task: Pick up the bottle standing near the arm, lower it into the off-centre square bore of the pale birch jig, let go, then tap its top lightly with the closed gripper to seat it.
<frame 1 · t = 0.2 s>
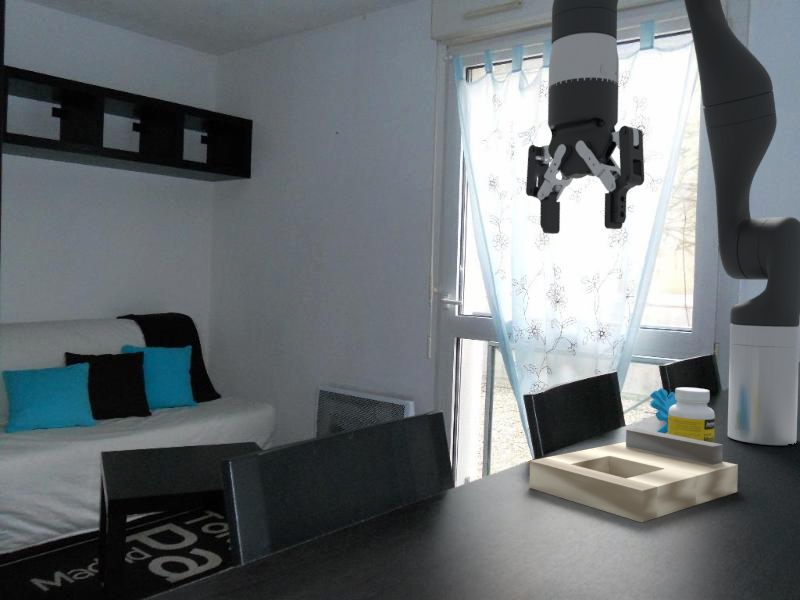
hand: (580, 231, 78), 28 cm above the table, fingers open, 8 cm apart
supplement bottle: (689, 468, 88), on the table
blue lobed piece: (680, 444, 103), on the table
jig: (633, 489, 77), on the table
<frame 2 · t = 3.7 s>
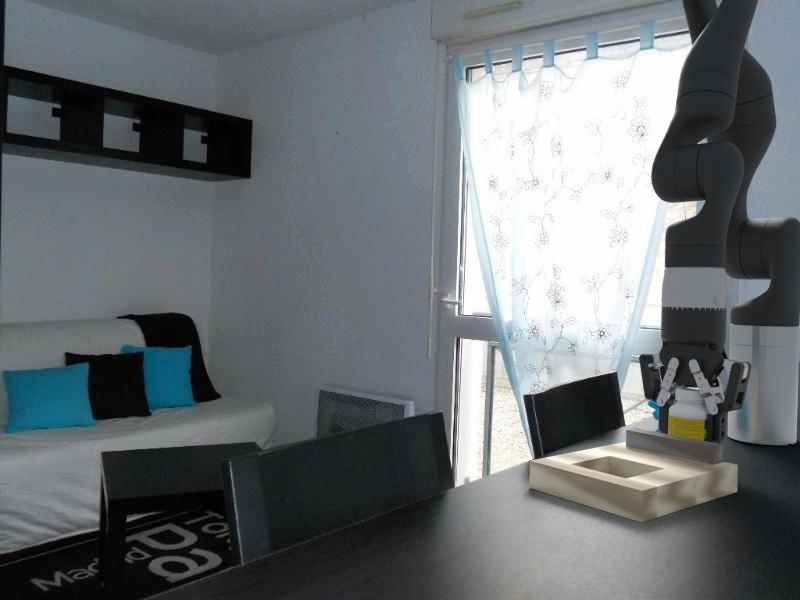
hand: (690, 439, 88), 3 cm above the table, fingers closed on supplement bottle, 5 cm apart
supplement bottle: (689, 468, 88), on the table, touching gripper
everything else where it was.
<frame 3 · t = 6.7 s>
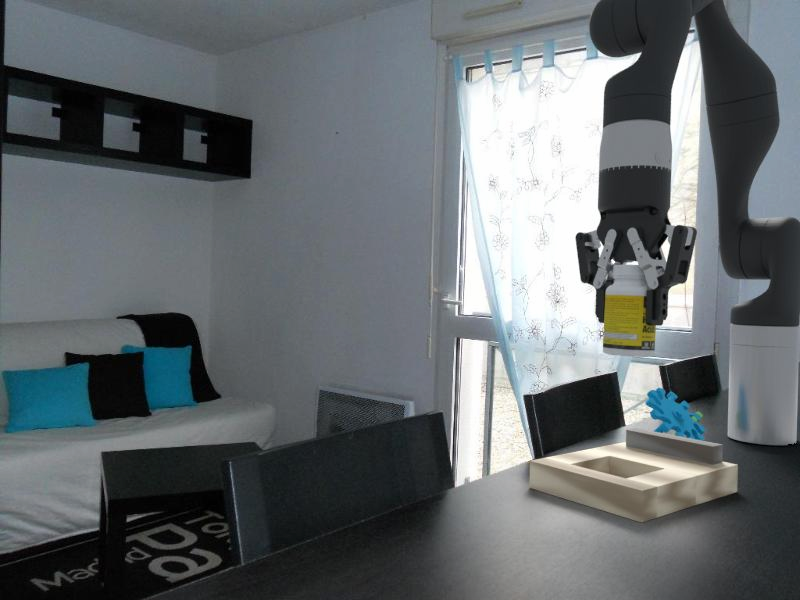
hand: (629, 323, 77), 18 cm above the table, fingers closed on supplement bottle, 5 cm apart
supplement bottle: (628, 357, 77), point 15 cm above the table, touching gripper
everything else where it was.
when the fingers open (4 cm above the table, at t = 9.7 s): supplement bottle stays where it is, resting in jig.
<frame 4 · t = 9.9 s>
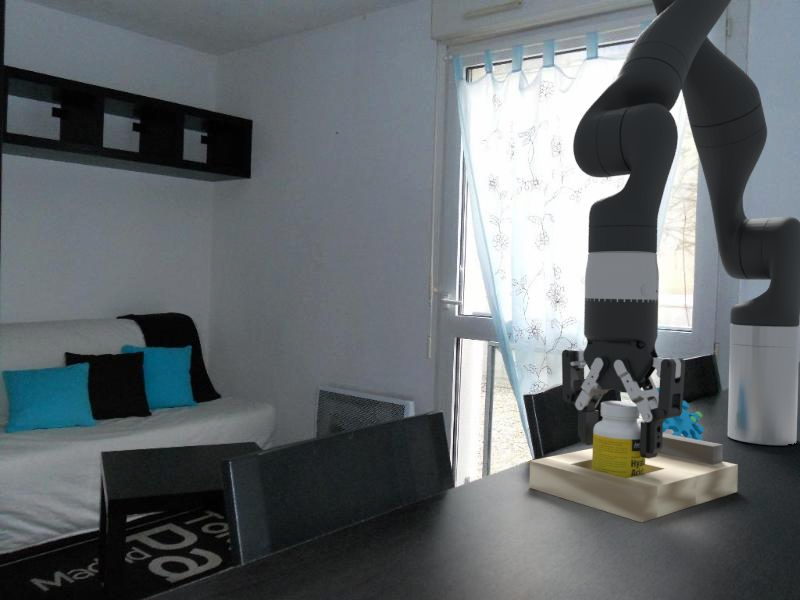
hand: (617, 449, 75), 5 cm above the table, fingers open, 7 cm apart
supplement bottle: (617, 496, 75), resting in jig
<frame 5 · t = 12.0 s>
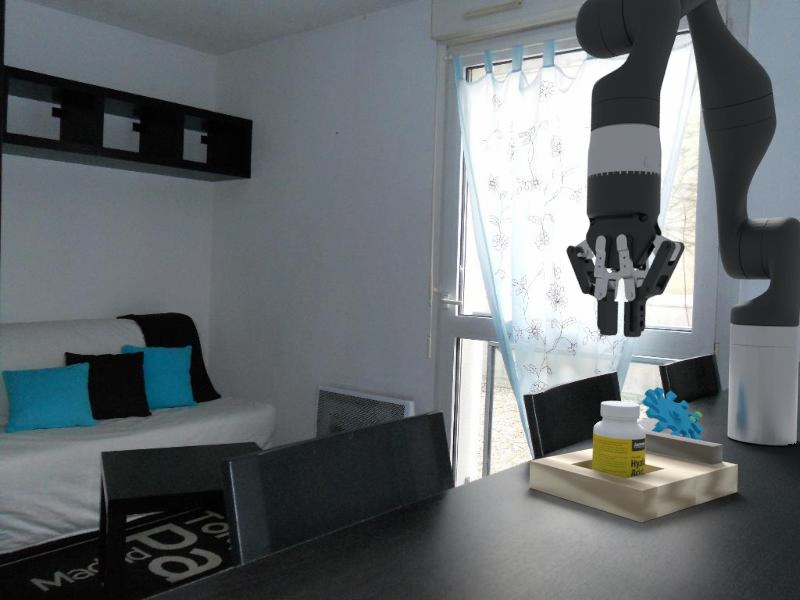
hand: (620, 335, 75), 17 cm above the table, fingers closed
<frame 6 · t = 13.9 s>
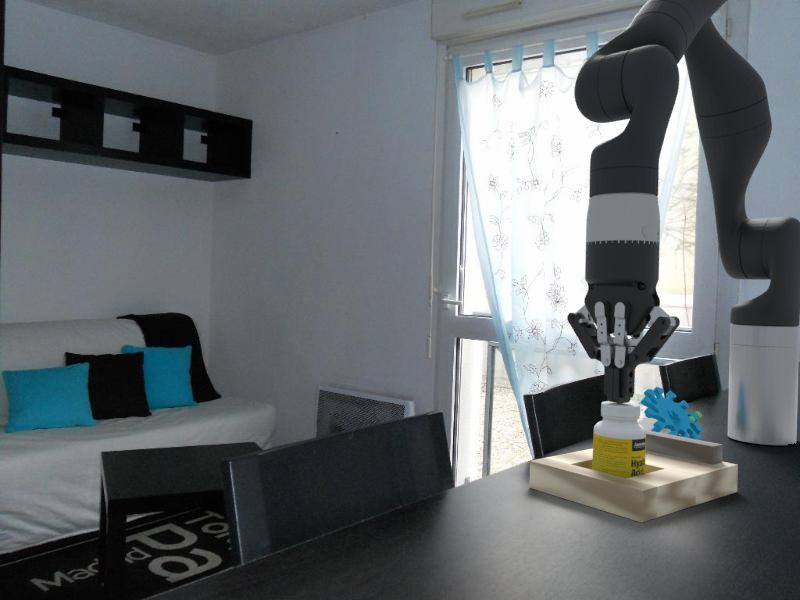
hand: (618, 401, 75), 10 cm above the table, fingers closed
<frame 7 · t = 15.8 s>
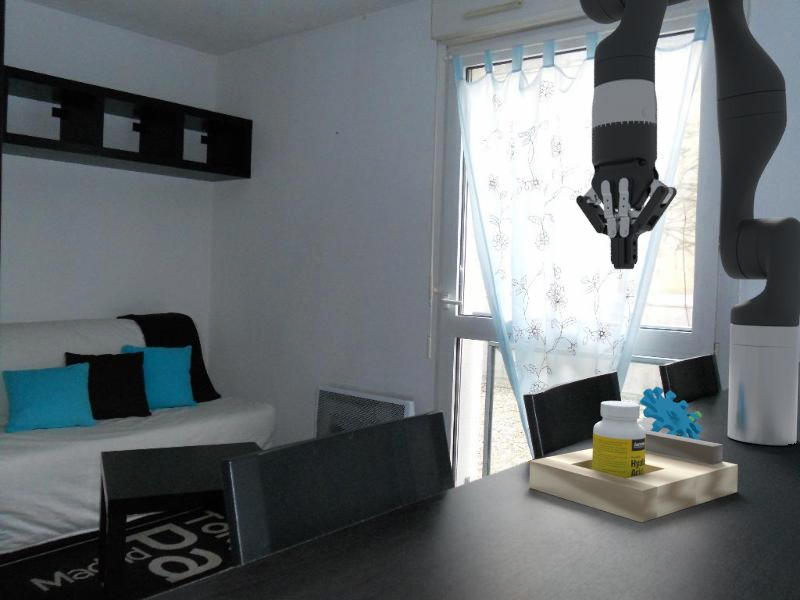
hand: (623, 268, 85), 25 cm above the table, fingers closed
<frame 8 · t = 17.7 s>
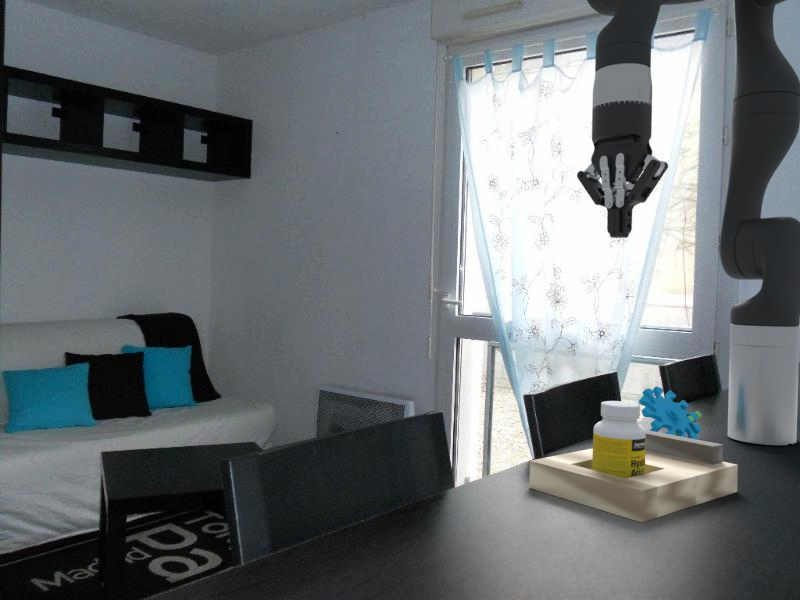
hand: (619, 237, 93), 29 cm above the table, fingers closed
at the end: supplement bottle 0.1 cm from the target spot on the jig, point 0.0 cm above the jig's base; supplement bottle tilted 0°; the gripper is holding nothing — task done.
